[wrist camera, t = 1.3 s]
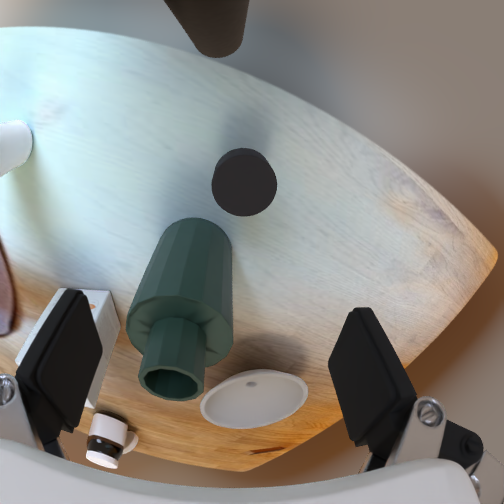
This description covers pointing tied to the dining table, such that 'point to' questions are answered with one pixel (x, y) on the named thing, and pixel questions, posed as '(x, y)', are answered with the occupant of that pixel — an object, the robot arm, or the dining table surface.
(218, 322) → the bottle
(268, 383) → the dish
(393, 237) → the dining table surface
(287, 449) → the dining table surface
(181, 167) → the dining table surface
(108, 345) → the small box
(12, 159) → the white cup
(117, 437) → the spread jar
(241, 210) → the stopper
